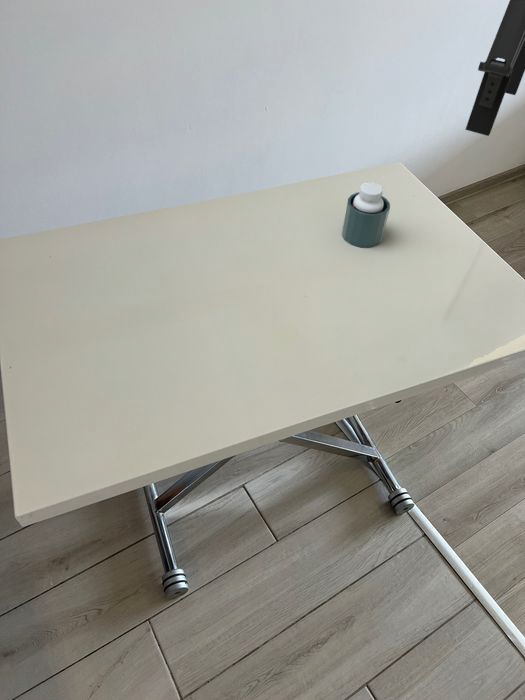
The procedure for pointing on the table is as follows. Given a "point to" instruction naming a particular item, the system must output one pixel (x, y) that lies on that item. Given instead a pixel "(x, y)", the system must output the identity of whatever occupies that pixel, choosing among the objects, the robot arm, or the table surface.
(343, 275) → the table surface
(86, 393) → the table surface
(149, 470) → the table surface
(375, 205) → the pill bottle
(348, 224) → the cup
